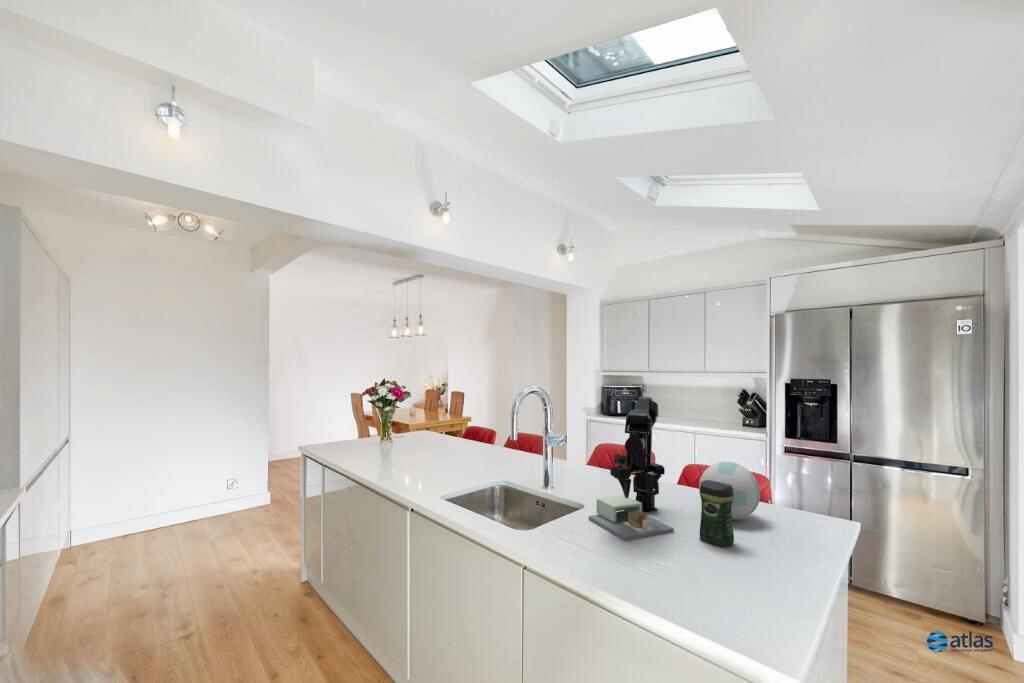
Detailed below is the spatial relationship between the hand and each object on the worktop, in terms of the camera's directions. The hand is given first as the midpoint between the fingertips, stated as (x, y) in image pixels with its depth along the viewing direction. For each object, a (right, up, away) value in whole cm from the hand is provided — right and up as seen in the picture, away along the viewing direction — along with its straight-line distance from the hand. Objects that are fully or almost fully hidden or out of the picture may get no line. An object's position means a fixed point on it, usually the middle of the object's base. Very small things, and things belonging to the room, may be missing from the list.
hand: (637, 496), depth 152 cm
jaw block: (0, -10, 0) cm, 10 cm away
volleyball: (+37, -12, +13) cm, 41 cm away
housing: (-5, -10, +11) cm, 15 cm away
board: (-2, -11, +3) cm, 12 cm away
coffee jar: (+22, -11, -9) cm, 27 cm away
